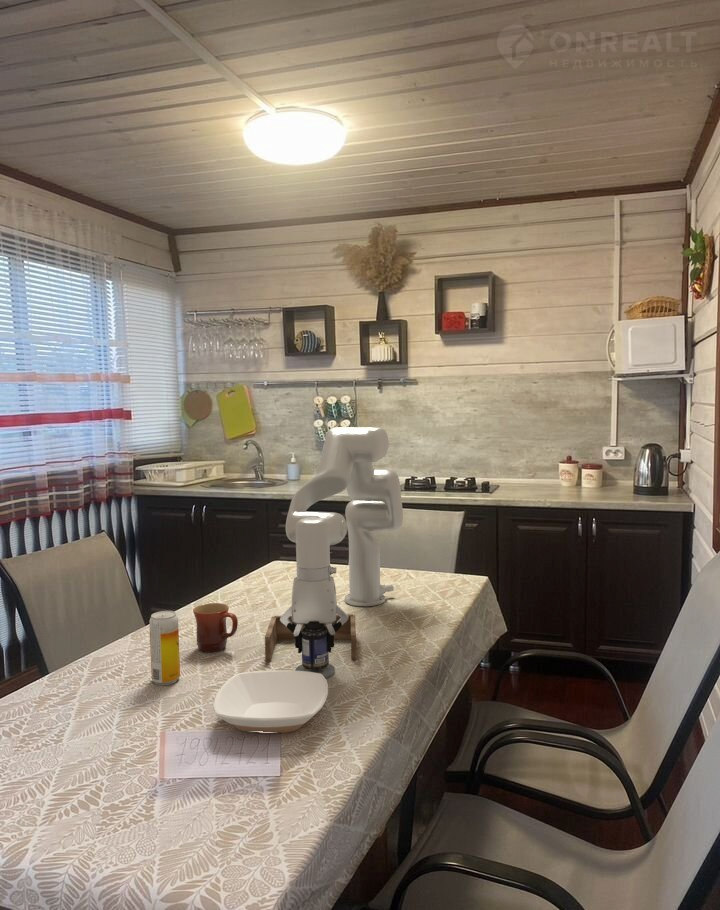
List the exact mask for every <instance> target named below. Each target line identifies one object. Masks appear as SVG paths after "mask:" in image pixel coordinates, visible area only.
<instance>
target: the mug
mask: <svg viewBox="0 0 720 910" xmlns="http://www.w3.org/2000/svg"><path fill="white" fill-rule="evenodd" d="M229 606H230V605H228V604H226V603H220V602H210V603H204V604H200V605H197V606H195V607H194V608H193V611H192V612H193V615H194V617H195V622H196V645H197V648H198V649H199V651H202V652H204V653H217V652H220V651H222V650H223V649H224V648H226V646H227V643H228V639H229V638H231V637H233V636H234V635H235V634H236V632H237V629H238V627H239V625H238V624H239V620H238V616H237V615H236V614H234V613H232V612H229V609H230V607H229ZM228 618H230V619H231V620H232V621H231V622H232V627H231V631H230V632H228V628H227V619H228Z"/></svg>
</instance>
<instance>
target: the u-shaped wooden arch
mask: <svg viewBox="0 0 720 910" xmlns="http://www.w3.org/2000/svg"><path fill="white" fill-rule="evenodd" d="M346 614H347V615H348V620H347V621H346V622H345V623H344V624H343V625H342V626H341V628H340V629H339V630H338V631H337V632H336V633H335V634H334V640H338V639H339V640H340V639H341V640H343V639H344V640H345V639H350V660H351V661H356V660H357V630H356V629H357V627H356V626H357V624H356V615H355V614H352V613H351V614H348V613H346ZM281 616H282V615H273V616H271V617H270V621H269V624H268V626H267V630H266V633H265V635H264V650H265V651H264V653H265V655H264V658H265V659H264V660H265V663H266V662H271V661H272V658H273V653H274V651H275V647H276V643H277V641H284V640H285V641H288V640H291V641H295V636H294V634H293V633H292V632H291V631H290V630H289V629H288V628H287V626H286V625H284V624H283V623H282V622H281V621H280V618H281ZM340 618H341V617H340V616H339V615H338V614H337V615H336V620H335V621H334V622H333V624H335V623H336V622H337V621H338V620H339V619H340ZM288 619H289V620H290V621H291V622H292V623H294V622H293V621H292V615H291V616H290V617H289V618H288ZM294 624H295V625H296V623H294ZM324 626H325V627H326V628H327V626H326V624H324ZM304 627H305V625H304V624H303V625H302V627H301V632H302V629H303V628H304ZM327 630H328V628H327ZM328 632H329V630H328Z"/></svg>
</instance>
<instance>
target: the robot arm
mask: <svg viewBox="0 0 720 910" xmlns="http://www.w3.org/2000/svg"><path fill="white" fill-rule="evenodd" d="M389 442H390V441H389V436H388V434H387V432H386V429H384V428H383V427H374V426H373V427H359V426H358V427H355V426H353V427H351V426H350V427H347V426H346V427H345V426H343V427H340V426H338V427H337V426H336V427H331V428H330V429H328V430H327V431H326V434H325V440H324V442H323V447H322V450H321V455H320V458H319V462H318V463H319V464H318V468H317V471H316V473H315V474H316V475H314V476H313V477H311V478H310V479H309V480H308V481H307V482H305V483H304V484H303V485H302V486H301V487H300V488H299V489H298V490H297V491H296V492H295V494H294V495H293V497H292V499H291V501H290V504H289V508H288V512H287V516H286V521H285V534H286V537H287V539H288V540H290V541H291V542H293V543H295V552H296V553H295V554H296V558H295V560H296V576H295V577H294V578H293V581H292V592H291V605H290V606H289V608H287V610H286V611H284V613H283V614H282V615H280V616H281V618H280V621H281V622H282V623H283V624H284V625H286V626H287V628H288V629H289V630H290V631H291V632H292V633H293V634H294V636H295V640H294V641H295V642H294V643H295V644H294V645H295V647H294V648H295V649H297V653H298V654H302V641H301V627H302V625H303V624H307V623H308V622H309V621H319V622H320V623H322V624H326V626H327V628H328V630H329V632H328V652H329V654H330V653H332V648H335V639H334V634H335V633H336V632H337V631H338V630H339V629H340V628H341V626H342V625H343V624H344V623H345V622H346V621H347V620H348V615H347V614H348V613H347V612H345V611H344V610H343V609H342V608H341V607H340V606H339V605H338V604H337V589H336V583H335V579H334V576H332V575H334V574H337V567H333V566H332V565H331V553H330V551H331V550H330V548H331V547H330V546H334V545H337V544H340V543H341V542H342V541H343V540H344V539H345V537H346V535H348V536H347V537H348V564H349V565H348V569H349V571H348V574H349V579H348V580H349V585H348V586H349V593H347V594H346V595H345V596H344V602H345V603H346V604H348V605H351V606H354V607H355V606H356V607H374V606H378V605H381V604H384V603H385V602H386V595H384V594H386V593H387V592H388V593H389V592H394V589H395V587H394V585H393V584H389V585H386V584H381V552H380V551H381V546H380V542H379V539H378V538H377V536H376V535H375V534H374V532H375V531H376V532H377V531H379V532H395V531H399V530H400V529H401V527H402V525H403V523H404V521H403V519H404V512H403V511H404V510H403V509H404V508H403V501H402V491H401V490H402V489H401V482H400V477H399V475H398V474H397V472H396V471H394V470H393V469H387V468H386V469H385V468H384V469H383V468H374V467H373V463H377V462H378V461H380V460H382V459H383V458H384V457H386V454H387V453H388V450H389V444H390V443H389ZM345 490H346V492H347V495H348V497H349V498H350V499H352V500H351V501H349V502H348V503H347V504H346V506H345V510H344V511H345V513H344V514H345V517H344V516H343V515H342V514H341V513H338V512H335V511H333V512H331V511H330V512H329V511H310V510H309V511H307V510H308V509H309V508H310V507H311V506H312V505H314V504H316V503H318V502H319V501H323V500H325V499H328V498H330V497H333V496H336V495H337V494H340V493H342V492H343V491H345ZM336 615H339V616H340V617H341V618H340V619H339V620H338V621H337V622H336V623H335V624H333V622H334V621H335V620H336ZM290 616H292V621H293V622H294V623H296V625H295V624H294V623H292V622H291V621H290V620H289V619H288V618H289V617H290Z"/></svg>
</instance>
